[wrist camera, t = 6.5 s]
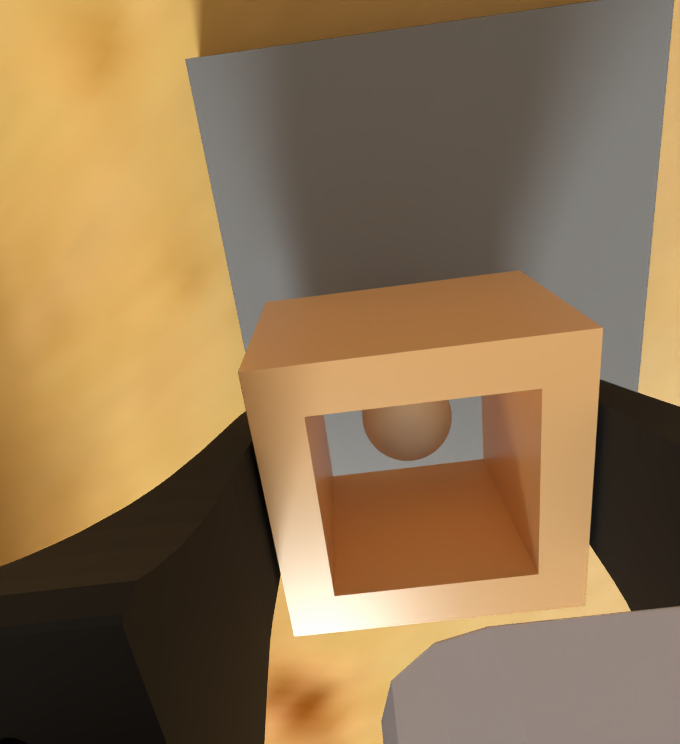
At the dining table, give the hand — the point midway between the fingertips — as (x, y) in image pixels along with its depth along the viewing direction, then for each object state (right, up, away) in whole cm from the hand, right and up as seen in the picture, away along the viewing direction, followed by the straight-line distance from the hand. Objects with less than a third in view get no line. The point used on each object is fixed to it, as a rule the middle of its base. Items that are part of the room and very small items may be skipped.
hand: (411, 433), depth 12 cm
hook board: (+1, +4, +4) cm, 6 cm away
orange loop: (0, +1, +2) cm, 2 cm away
